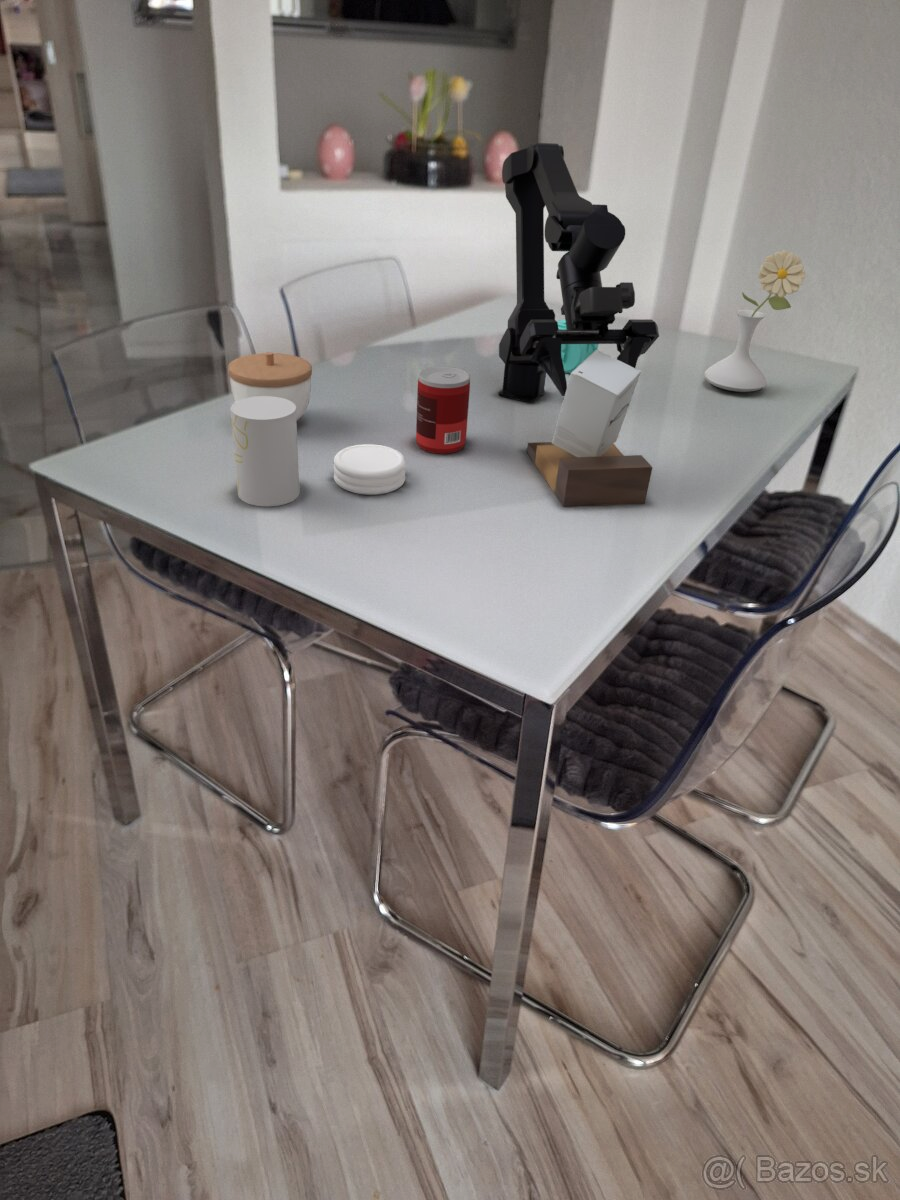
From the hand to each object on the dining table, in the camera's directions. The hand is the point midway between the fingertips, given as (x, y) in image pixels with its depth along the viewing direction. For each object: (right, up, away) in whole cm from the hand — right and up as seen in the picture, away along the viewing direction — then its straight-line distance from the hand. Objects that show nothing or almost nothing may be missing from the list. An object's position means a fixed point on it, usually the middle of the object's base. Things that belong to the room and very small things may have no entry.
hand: (596, 394), depth 118 cm
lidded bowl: (-48, 0, +18) cm, 52 cm away
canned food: (-22, -5, +14) cm, 26 cm away
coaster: (-32, -12, +2) cm, 34 cm away
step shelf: (-1, -10, +7) cm, 13 cm away
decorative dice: (+3, +17, +49) cm, 52 cm away
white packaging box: (-1, -6, +6) cm, 8 cm away
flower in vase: (+34, +12, +44) cm, 57 cm away
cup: (-45, -14, -3) cm, 47 cm away
